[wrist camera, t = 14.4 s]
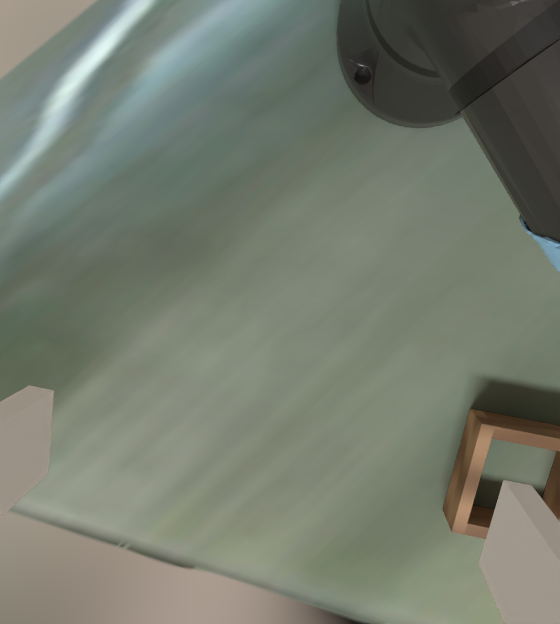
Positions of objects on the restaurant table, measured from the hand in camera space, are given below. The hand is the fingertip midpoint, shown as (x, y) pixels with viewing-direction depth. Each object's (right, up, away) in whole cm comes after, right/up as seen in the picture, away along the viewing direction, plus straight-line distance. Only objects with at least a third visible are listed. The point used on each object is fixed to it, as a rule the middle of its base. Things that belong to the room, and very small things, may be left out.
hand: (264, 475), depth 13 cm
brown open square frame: (+23, -11, +33) cm, 42 cm away
